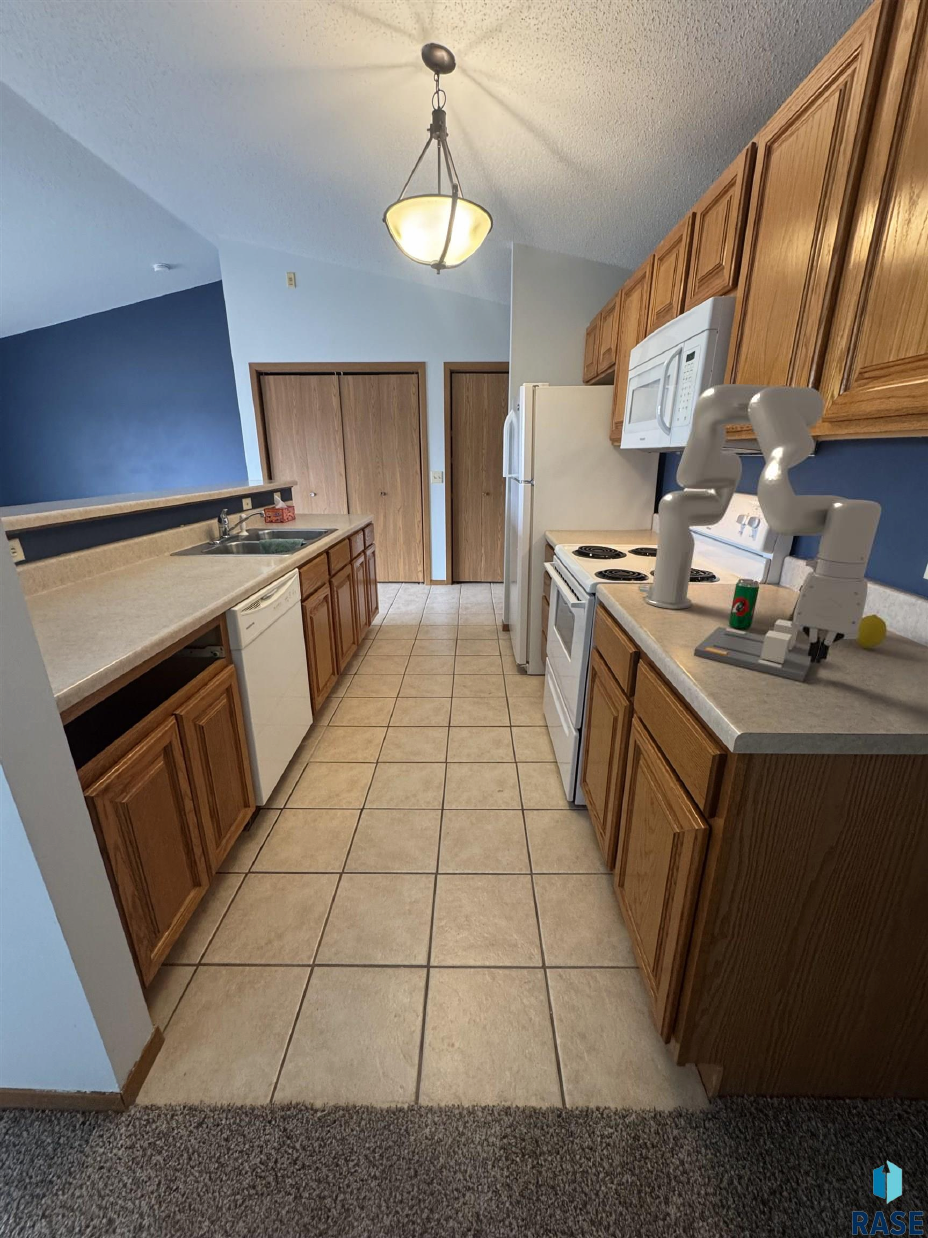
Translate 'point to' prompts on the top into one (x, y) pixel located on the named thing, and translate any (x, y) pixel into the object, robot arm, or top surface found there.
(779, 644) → the front slider
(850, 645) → the top surface
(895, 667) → the top surface
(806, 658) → the switch panel
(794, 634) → the back slider
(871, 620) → the lemon
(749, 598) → the soda can
